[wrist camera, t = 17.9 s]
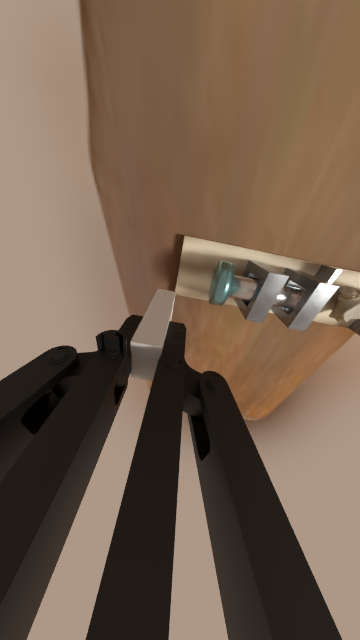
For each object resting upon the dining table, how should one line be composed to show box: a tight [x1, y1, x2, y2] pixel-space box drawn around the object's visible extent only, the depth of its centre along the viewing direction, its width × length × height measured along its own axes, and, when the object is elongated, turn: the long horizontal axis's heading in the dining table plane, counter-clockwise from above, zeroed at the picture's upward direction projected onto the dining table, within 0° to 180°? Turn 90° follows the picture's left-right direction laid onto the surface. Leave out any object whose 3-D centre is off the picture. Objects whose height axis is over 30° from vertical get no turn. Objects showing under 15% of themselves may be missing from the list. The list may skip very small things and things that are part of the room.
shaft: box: [209, 260, 306, 309], centre depth 23 cm, size 16×6×6 cm, turn 80°
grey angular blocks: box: [234, 260, 360, 335], centre depth 25 cm, size 10×25×9 cm, turn 80°
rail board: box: [175, 235, 360, 328], centre depth 28 cm, size 10×36×2 cm, turn 80°
